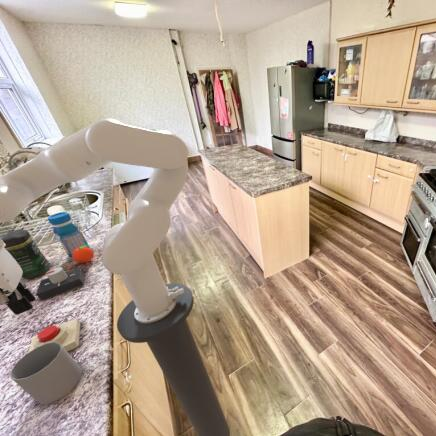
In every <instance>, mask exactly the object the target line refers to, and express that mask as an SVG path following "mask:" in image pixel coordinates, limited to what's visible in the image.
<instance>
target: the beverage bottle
mask: <svg viewBox="0 0 436 436" xmlns="http://www.w3.org/2000/svg"><path fill="white" fill-rule="evenodd" d="M47 220H48V222H49V224H50V225H51V226H52V227H53V228H52V232H53V234H54V235H55V238H56V241H58V242H59V243H60V245H61V247H62V248H63V249H64V251H65V253H66V255H67V257H68V258H69V259H70V260H71V259H73V257H72V254H73V252H74V251H75V250H76V249H77V248H79V247H82V246H85V245H89V243H88V241H87V240H86V238H85V236H84V234H83V231H82V229H80V227H79V225H78V223H76V222H74V221H73V220H72V217H71V214H70V213H69V212H68V211H60V212H57V213H54V214H51V215H49V216H48V217H47ZM85 247H89V248H91V245H90V246H85ZM73 260H74V259H73Z"/></svg>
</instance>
